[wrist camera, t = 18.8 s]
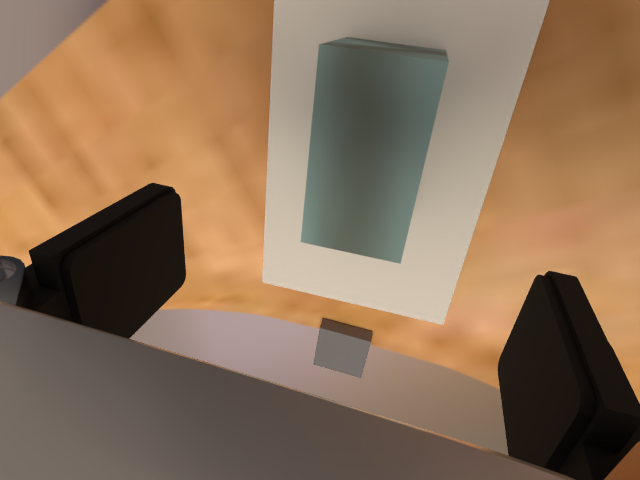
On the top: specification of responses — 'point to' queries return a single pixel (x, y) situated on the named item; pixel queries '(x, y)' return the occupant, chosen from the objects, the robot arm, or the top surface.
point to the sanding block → (369, 143)
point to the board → (442, 156)
